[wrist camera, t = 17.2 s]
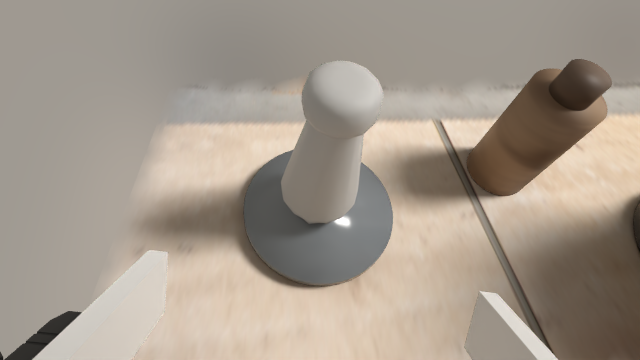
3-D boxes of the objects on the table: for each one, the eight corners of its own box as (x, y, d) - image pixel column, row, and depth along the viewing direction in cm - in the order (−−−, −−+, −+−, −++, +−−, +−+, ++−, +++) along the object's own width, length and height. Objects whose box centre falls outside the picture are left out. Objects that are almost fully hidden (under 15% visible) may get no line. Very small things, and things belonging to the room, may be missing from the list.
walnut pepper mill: (504, 143, 37) (595, 44, 27) (534, 190, 34) (648, 99, 24) (457, 151, 35) (533, 49, 25) (484, 200, 33) (582, 109, 23)
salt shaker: (266, 191, 29) (266, 62, 18) (322, 160, 31) (353, 30, 20) (307, 248, 27) (336, 142, 16) (365, 211, 29) (424, 96, 18)
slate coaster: (362, 145, 34) (365, 139, 33) (411, 266, 28) (415, 262, 28) (234, 164, 31) (233, 157, 30) (258, 303, 25) (258, 300, 25)
